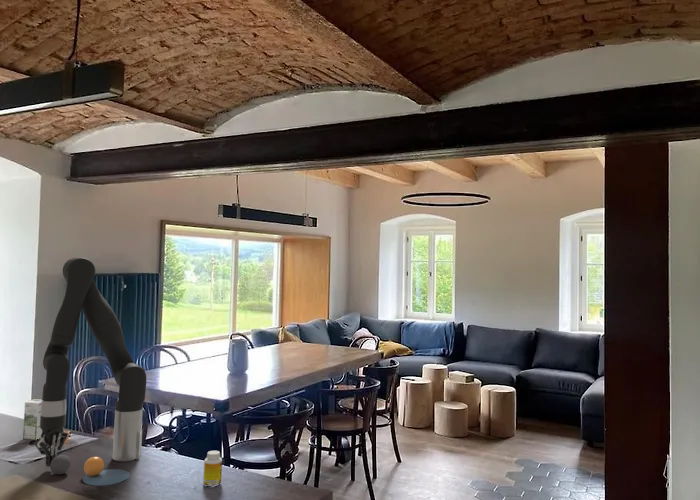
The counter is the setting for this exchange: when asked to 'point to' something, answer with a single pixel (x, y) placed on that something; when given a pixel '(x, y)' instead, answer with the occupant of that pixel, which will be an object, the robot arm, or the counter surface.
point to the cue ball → (60, 464)
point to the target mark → (107, 477)
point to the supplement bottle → (212, 469)
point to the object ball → (94, 466)
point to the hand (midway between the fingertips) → (50, 465)
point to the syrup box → (32, 419)
